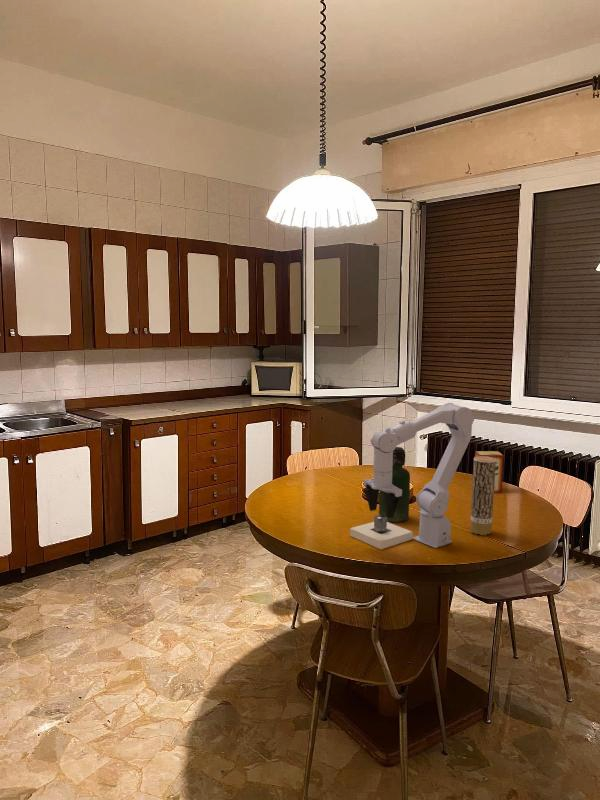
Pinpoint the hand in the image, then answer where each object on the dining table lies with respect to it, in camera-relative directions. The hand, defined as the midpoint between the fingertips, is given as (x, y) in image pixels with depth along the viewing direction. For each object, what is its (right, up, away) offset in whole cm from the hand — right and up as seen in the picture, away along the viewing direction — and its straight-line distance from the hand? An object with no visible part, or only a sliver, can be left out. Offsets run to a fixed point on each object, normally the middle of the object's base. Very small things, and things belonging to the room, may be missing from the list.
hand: (381, 513), depth 185 cm
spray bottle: (+8, -7, +27) cm, 29 cm away
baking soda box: (+51, -2, +61) cm, 80 cm away
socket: (+1, -9, +8) cm, 13 cm away
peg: (+1, -9, +8) cm, 12 cm away
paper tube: (+35, -9, +14) cm, 38 cm away
